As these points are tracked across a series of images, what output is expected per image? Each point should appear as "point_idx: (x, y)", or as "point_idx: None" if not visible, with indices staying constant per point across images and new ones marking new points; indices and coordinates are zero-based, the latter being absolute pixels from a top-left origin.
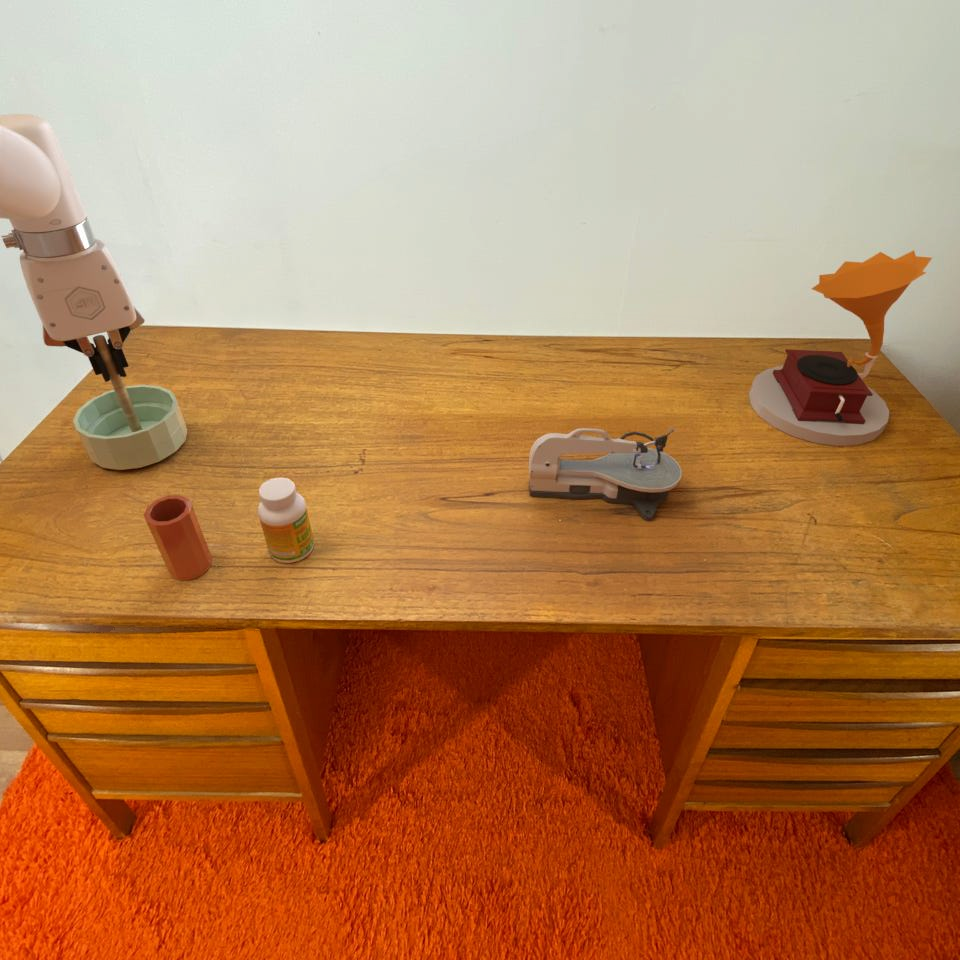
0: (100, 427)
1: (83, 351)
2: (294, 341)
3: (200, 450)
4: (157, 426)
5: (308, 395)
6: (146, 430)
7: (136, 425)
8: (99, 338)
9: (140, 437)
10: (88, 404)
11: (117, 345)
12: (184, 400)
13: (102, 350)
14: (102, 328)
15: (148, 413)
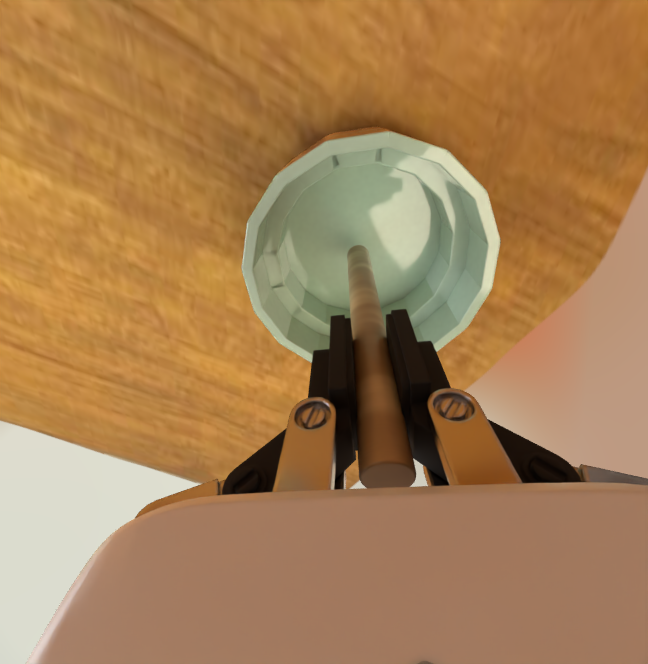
0: (425, 296)
1: (479, 413)
2: (92, 428)
3: (239, 154)
4: (297, 159)
5: (21, 267)
6: (329, 141)
7: (355, 253)
8: (385, 469)
9: (352, 135)
10: (440, 339)
11: (316, 415)
12: (268, 347)
13: (386, 411)
14: (350, 521)
15: (328, 313)
